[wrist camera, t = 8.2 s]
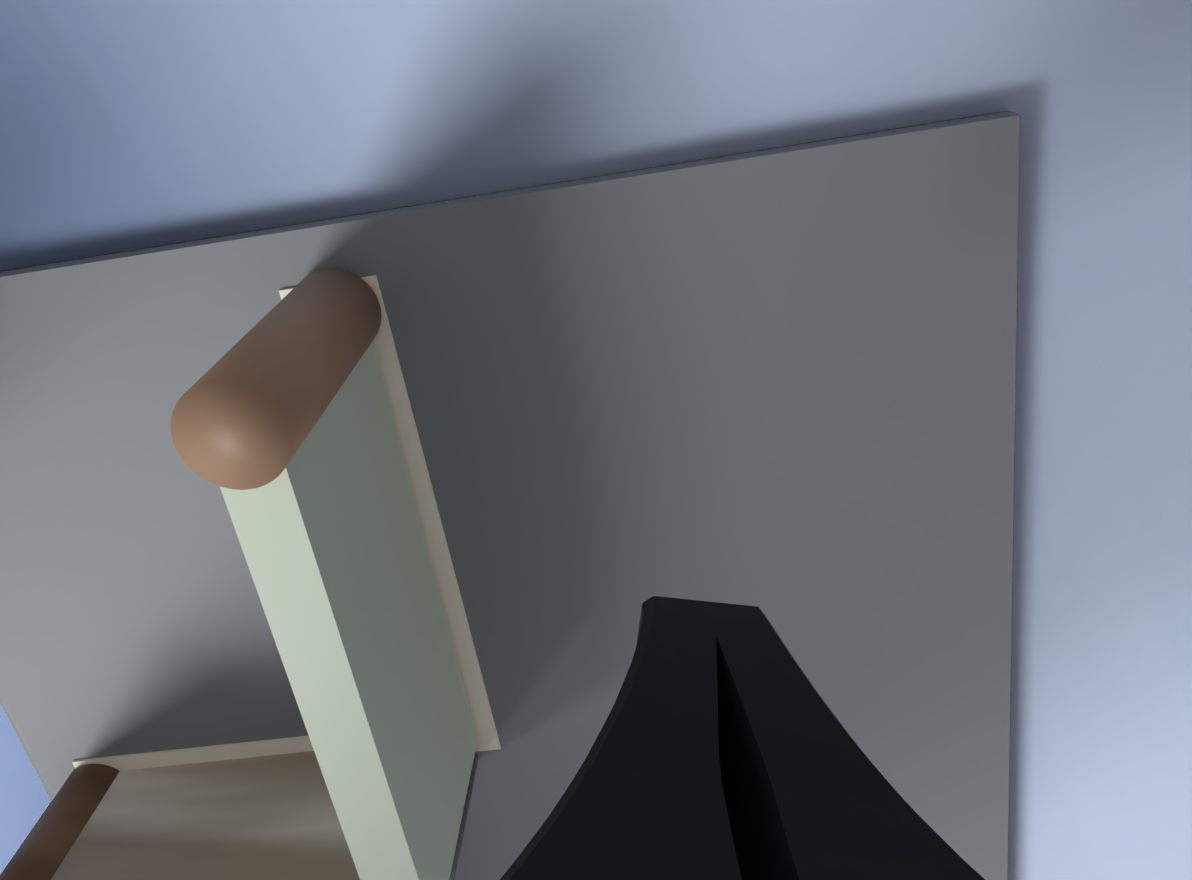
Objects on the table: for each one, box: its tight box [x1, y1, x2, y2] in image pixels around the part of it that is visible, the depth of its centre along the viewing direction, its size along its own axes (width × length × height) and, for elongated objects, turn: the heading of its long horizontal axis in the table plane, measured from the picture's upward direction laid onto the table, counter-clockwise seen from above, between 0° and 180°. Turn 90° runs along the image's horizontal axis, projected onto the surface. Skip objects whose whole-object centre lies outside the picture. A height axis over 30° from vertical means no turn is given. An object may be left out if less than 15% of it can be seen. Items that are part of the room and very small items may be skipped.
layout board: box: [0, 111, 1020, 880], centre depth 22 cm, size 19×22×1 cm
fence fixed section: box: [0, 751, 360, 880], centre depth 21 cm, size 2×8×5 cm, turn 99°
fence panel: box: [171, 268, 478, 880], centre depth 18 cm, size 12×2×5 cm, turn 9°
